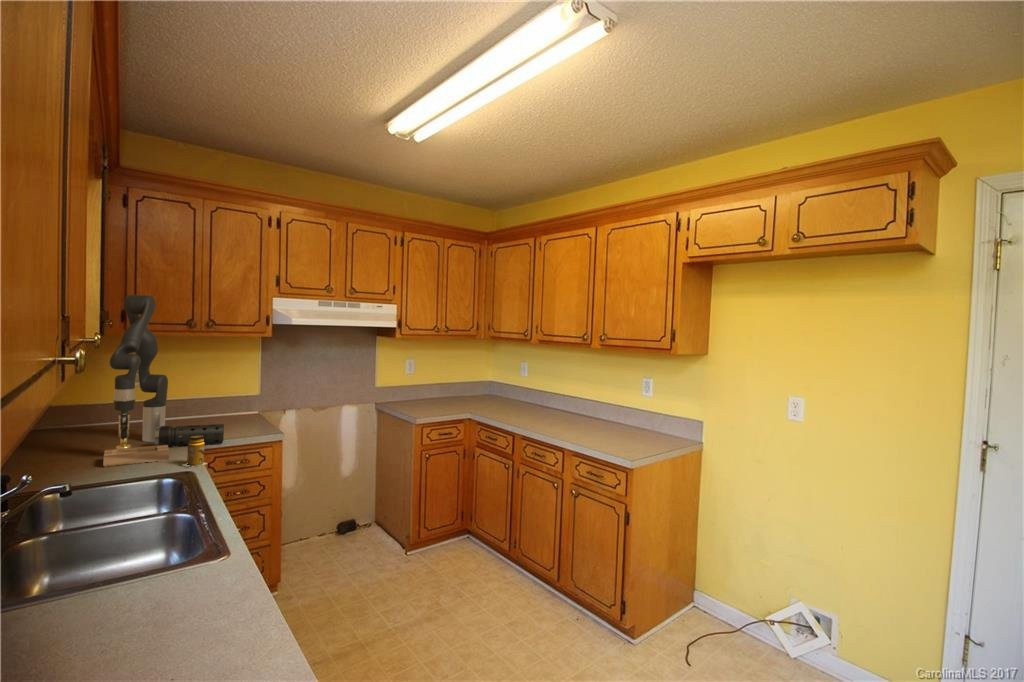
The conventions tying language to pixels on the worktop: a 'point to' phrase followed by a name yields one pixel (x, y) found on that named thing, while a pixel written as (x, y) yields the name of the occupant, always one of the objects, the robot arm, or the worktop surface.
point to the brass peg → (123, 441)
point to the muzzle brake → (188, 434)
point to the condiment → (196, 451)
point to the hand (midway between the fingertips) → (123, 437)
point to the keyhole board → (136, 455)
